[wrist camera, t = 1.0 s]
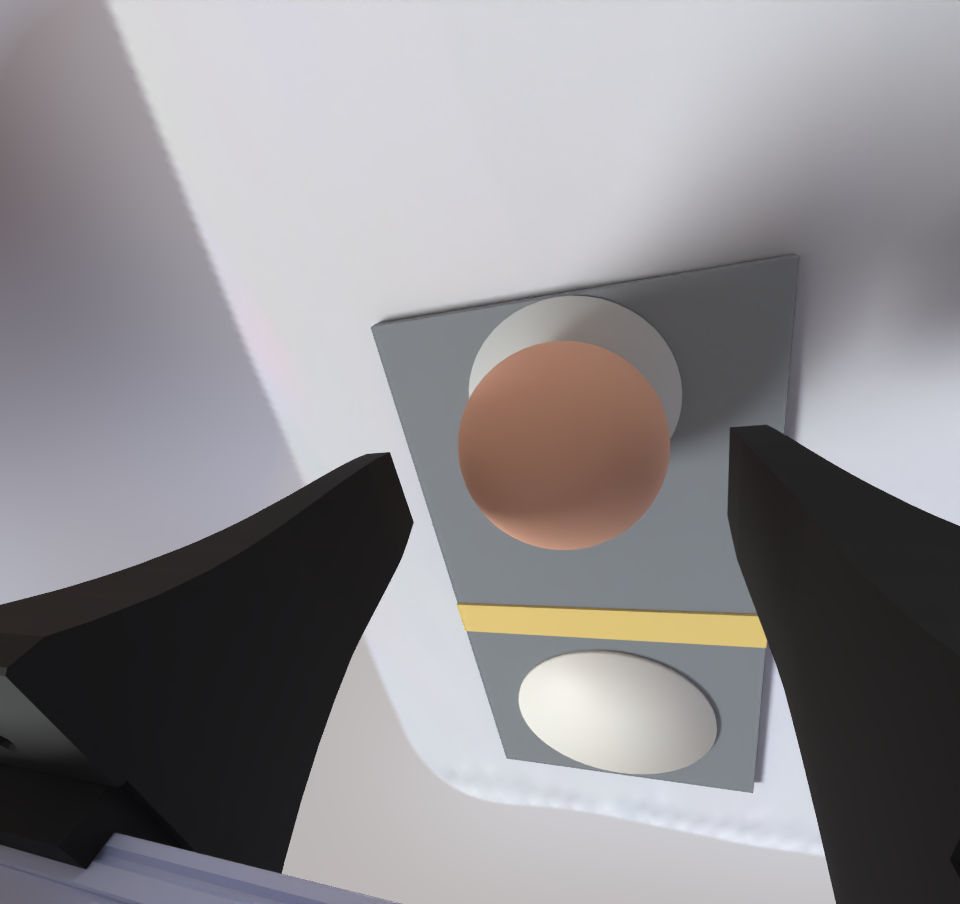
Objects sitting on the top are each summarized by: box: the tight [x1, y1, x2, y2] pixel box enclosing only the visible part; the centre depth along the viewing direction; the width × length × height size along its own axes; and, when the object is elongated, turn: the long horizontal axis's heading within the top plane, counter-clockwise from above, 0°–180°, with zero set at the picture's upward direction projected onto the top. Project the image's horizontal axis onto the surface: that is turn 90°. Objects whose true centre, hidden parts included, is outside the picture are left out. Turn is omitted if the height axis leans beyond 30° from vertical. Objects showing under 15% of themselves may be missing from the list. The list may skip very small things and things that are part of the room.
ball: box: [458, 341, 670, 550], centre depth 12 cm, size 5×5×5 cm
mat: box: [371, 254, 799, 793], centre depth 18 cm, size 22×11×1 cm, turn 12°
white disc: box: [519, 650, 717, 774], centre depth 20 cm, size 8×8×1 cm
